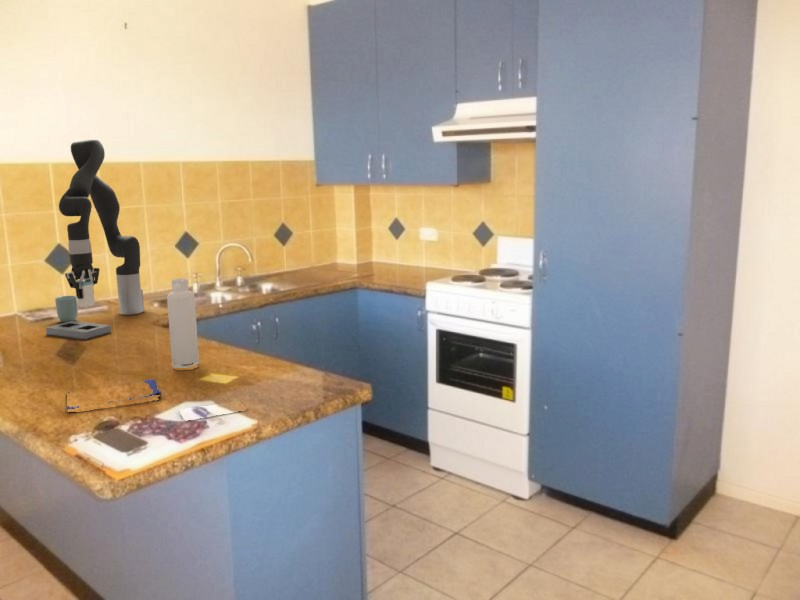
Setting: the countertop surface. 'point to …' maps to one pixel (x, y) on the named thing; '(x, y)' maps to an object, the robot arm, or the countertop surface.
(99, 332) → the panel
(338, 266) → the countertop surface
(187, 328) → the bottle
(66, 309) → the cup
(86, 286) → the plug
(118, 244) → the robot arm
